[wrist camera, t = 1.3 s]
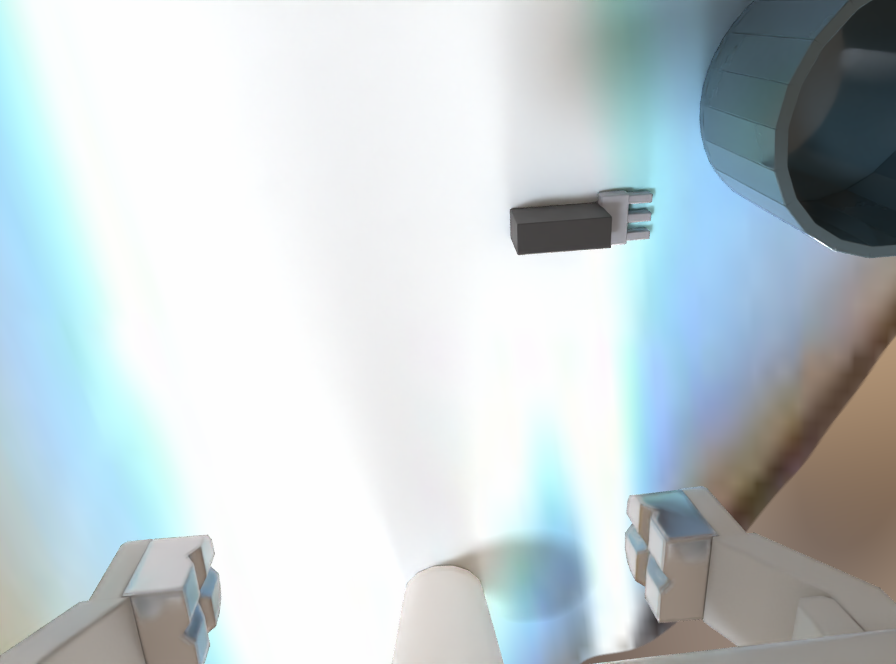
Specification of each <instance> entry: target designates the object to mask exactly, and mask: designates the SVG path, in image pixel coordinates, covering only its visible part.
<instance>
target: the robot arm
mask: <svg viewBox="0 0 896 664" xmlns="http://www.w3.org/2000/svg"><path fill="white" fill-rule="evenodd" d="M627 515H628V517H629V518H630V520H631V522H632V525H631V526H630V527H629V528H628V530H627V531H626V532H625V551H626V558H627V563H628V565H629V568H630V571H631V573H632V575H633V577H634V579H635V581H637V582H638V583H640V584H642V585H643V586H645V599H646V601H647V603H648V604H649V606H650V608H651V610H652V611H653V613H654V615H655V617H656V619H657V620H658V622H659V623H664V622H676V621H688V620H699V619H703V622H705V623H706V624H708V625H709V626H710V627H712V628H713V629H715V630H716V631H717V632H719V633H720V634H721V635H723V636H724V637H725V638H727V639H729V640H730V641H731V642H732V643H734V644H735V645H736V646H738V647H731V648H722V649H714V650H705V651H698V652H689V653H681V654H672V655H664V656H655V657H647V658H638V659H629V660H621V661H612V662H604V663H595V664H896V603H895V602H894V601H893V600H892V599H891V598H890V597H889V596H888V595H887V594H886V593H885V592H884V591H883V590H881V588H879V587H877V586H874V585H872V584H870V583H868V582H865V581H863V580H861V579H859V578H856V577H854V576H852V575H849V574H847V573H845V572H843V571H840V570H838V569H836V568H834V567H831V566H829V565H827V564H824V563H822V562H820V561H818V560H815V559H813V558H811V557H808V556H806V555H804V554H801V553H799V552H797V551H795V550H792V549H790V548H788V547H785V546H783V545H781V544H779V543H776V542H774V541H772V540H769V539H767V538H765V537H763V536H760V535H758V534H756V533H746V532H745V531H744V530H743V528H742V527H741V526H740V525H739V524H738V523H737V522H736V521H735V519H734V518H733V517H732V516H731V515H730V514H729V513H728V512H727V510H726V509H725V508H724V507H723V506H722V505H721V504H720V502H719V501H718V500H717V499H716V498H715V497H714V496H713V495H712V493H711V492H710V491H709V490H708V489H707V488H705V487H702V486H701V487H693V488H685V489H678V490H674V491H665V492H656V493H647V494H638V495H630V496H629V499H628V502H627ZM214 555H215V552H214V548H213V543H212V539H211V538H210V537H209V536H208V535H199V536H186V537H172V538H159V539H154V540H153V539H146V540H136V541H127V542H125V543H124V544H122V545H121V546H120V548H119V550H118V551H117V553H116V555H115V557H114V558H113V560H112V562H111V563H110V565H109V567H108V569H107V570H106V572H105V574H104V575H103V577H102V579H101V580H100V582H99V584H98V586H97V587H96V589H95V591H94V592H93V594H92V596H91V597H90V599H89V601H82V602H79V603H77V604H76V605H74V606H73V607H71V608H70V609H69V610H67V611H66V612H64V613H63V614H61V615H60V616H58V617H57V618H55V619H54V620H52V621H51V622H49V623H48V624H46V625H45V626H43V627H42V628H40V629H39V630H37V631H36V632H34V633H33V634H31V635H30V636H28V637H27V638H25V639H24V640H22V641H21V642H19V643H18V644H16V645H15V646H13V647H12V648H10V649H9V650H7V651H6V652H4V653H3V654H2V655H0V664H204V663H205V660H206V657H207V653H208V650H209V647H210V642H209V637H208V633H209V632H210V631H211V630H212V629H213V628H214V627H215V626H216V624H217V621H218V617H219V613H220V604H221V586H220V579H219V573H217V572H216V571H215V570H214V569H213V568H212V567H211V563H212V560H213V557H214Z"/></svg>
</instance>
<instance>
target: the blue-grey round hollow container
mask: <svg viewBox="0 0 896 664" xmlns="http://www.w3.org/2000/svg"><path fill="white" fill-rule="evenodd" d="M700 128H701V136H702V141H703V145H704V149H705V152H706V154H707V157H708V159H709V162H710V163H711V165H712V167H713V169H714V170H715V172H716V174H717V175H718V176H719V177H720V178H721V180H722V181H723V182H724V183H725V184H726V185H727V186H728V187H729V188H730V189H731V190H732V191H733V192H735V193H736V194H738V195H740V196H741V197H743V198H745V199H746V200H748V201H749V202H751V203H753V204H754V205H756V206H758V207H759V208H761V209H763V210H765V211H766V212H768V213H770V214H771V215H773V216H775V217H777V218H778V219H780V220H782V221H783V222H785V223H787V224H789V225H790V226H792V227H794V228H795V229H797V230H799V231H801V232H802V233H804V234H806V235H807V236H809V237H811V238H813V239H814V240H816V241H818V242H819V243H821V244H823V245H825V246H826V247H828V248H830V249H831V250H834V251H837V252H842V253H846V254H851V255H856V256H860V257H865V258H877V257H889V256H896V0H755V1H754V2H753V3H752V4H750V5H749V6H748V7H747V8H746V9H745V10H744V12H743V13H742V14H741V15H740V16H739V17H738V19H737V20H736V21H735V22H734V23H733V25H732V26H731V28H730V29H729V31H728V32H727V33H726V35H725V36H724V38H723V39H722V41H721V43H720V45H719V47H718V49H717V51H716V52H715V54H714V57H713V59H712V61H711V64H710V66H709V69H708V71H707V75H706V78H705V82H704V85H703V90H702V96H701V102H700Z"/></svg>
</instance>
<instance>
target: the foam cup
mask: <svg viewBox="0 0 896 664" xmlns="http://www.w3.org/2000/svg"><path fill="white" fill-rule="evenodd" d="M392 664H504V663H503V659H502V656H501V652H500V648H499V645H498V641H497V638H496V634H495V631H494V627H493V623H492V620H491V616H490V613H489V609H488V605H487V602H486V598H485V595H484V592H483V589H482V585H481V582H480V580H479V579H478V578H477V577H476V576H475V575H473V574H472V573H471V572H470V571H469V570H466V569H463V568H459V567H456V566H453V565H449V566H433V567H431V568H428V569H426V570H423V571H421V572H418V573H417V574H416V575H415V576H414V577H413V578H412V579H411V580H410V581H409V582H408V583H407V586H406V590H405V594H404V599H403V603H402V609H401V614H400V620H399V626H398V631H397V637H396V643H395V648H394V654H393V660H392Z"/></svg>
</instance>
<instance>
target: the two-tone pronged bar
mask: <svg viewBox="0 0 896 664" xmlns="http://www.w3.org/2000/svg"><path fill="white" fill-rule="evenodd" d="M652 196H653V194H652V193H650V192H649V191H639V192H626V191H624V190H621V191H608V192H599V193H598V199H597V202H595V203H582V204H569V205H556V206H543V207H530V208H517V209H510V228H511V240H512V242H513V244H514V247H515V249H516V252H517V254H518V255H526V254H539V253H552V252H565V251H577V250H590V249H603V248H611V245H621V244H626V241H629V240H642V239H649V236H650V231H649V230H648V229H647V228H646V227H643V228H630V229H627V224H628V223H630V222H643V221H651V212H650V211H648V210H647V209H644V210H631V211H628V207H629V204H637V203H650V202H652Z"/></svg>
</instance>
